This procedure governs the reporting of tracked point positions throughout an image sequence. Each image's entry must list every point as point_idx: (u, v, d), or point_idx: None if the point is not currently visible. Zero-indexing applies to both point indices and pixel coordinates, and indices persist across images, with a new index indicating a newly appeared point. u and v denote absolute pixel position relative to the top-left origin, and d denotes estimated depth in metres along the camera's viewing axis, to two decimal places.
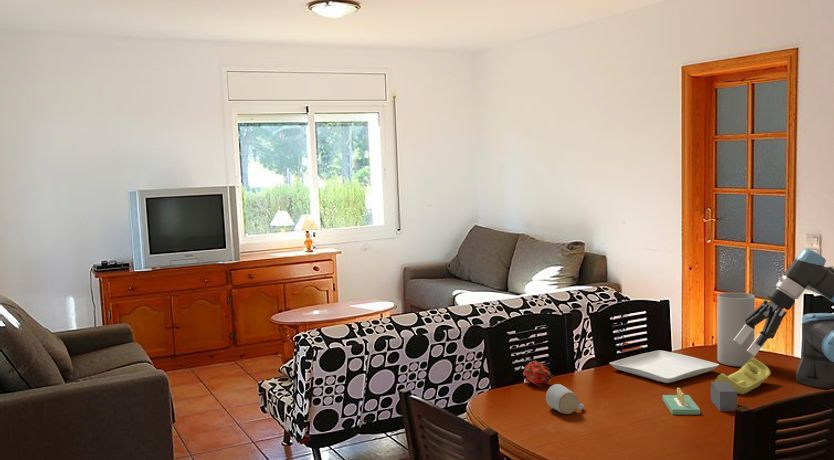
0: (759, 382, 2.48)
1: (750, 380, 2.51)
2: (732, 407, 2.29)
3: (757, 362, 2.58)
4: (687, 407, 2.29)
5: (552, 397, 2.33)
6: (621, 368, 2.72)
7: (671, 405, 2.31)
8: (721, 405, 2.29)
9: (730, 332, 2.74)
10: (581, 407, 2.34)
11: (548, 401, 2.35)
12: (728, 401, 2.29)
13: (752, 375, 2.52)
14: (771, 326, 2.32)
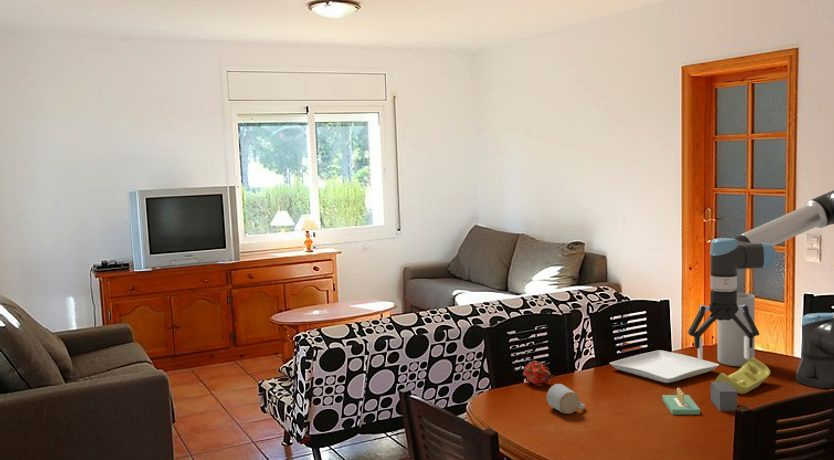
0: (759, 382, 2.48)
1: (750, 380, 2.52)
2: (732, 407, 2.29)
3: (757, 362, 2.58)
4: (687, 407, 2.29)
5: (553, 397, 2.33)
6: (621, 368, 2.72)
7: (671, 405, 2.31)
8: (721, 405, 2.29)
9: (730, 332, 2.74)
10: (582, 407, 2.34)
11: (549, 400, 2.35)
12: (728, 401, 2.29)
13: (752, 375, 2.52)
14: None
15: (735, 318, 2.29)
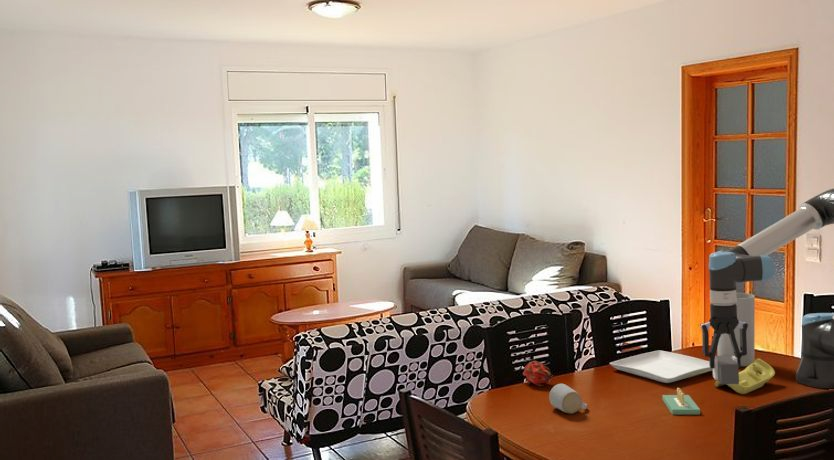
0: (762, 382, 2.48)
1: (753, 380, 2.51)
2: (734, 380, 2.28)
3: (762, 363, 2.57)
4: (687, 407, 2.29)
5: (555, 396, 2.33)
6: (621, 368, 2.72)
7: (671, 405, 2.31)
8: (723, 378, 2.28)
9: None
10: (584, 406, 2.34)
11: (551, 400, 2.35)
12: (729, 374, 2.28)
13: (756, 375, 2.51)
14: None
15: (732, 333, 2.30)
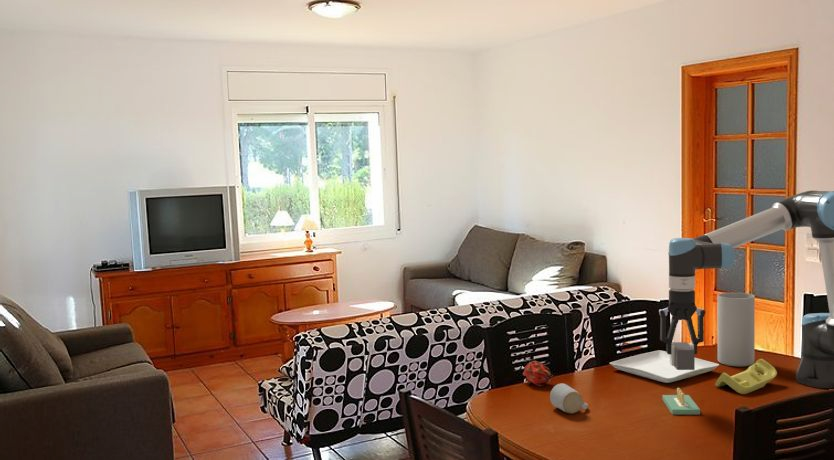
0: (763, 383, 2.47)
1: (755, 381, 2.51)
2: (689, 366, 2.28)
3: (765, 363, 2.56)
4: (687, 407, 2.29)
5: (556, 396, 2.33)
6: (621, 368, 2.72)
7: (671, 405, 2.31)
8: (678, 364, 2.28)
9: (730, 332, 2.74)
10: (585, 406, 2.34)
11: (552, 400, 2.35)
12: (685, 360, 2.28)
13: (757, 376, 2.51)
14: None
15: (689, 320, 2.30)
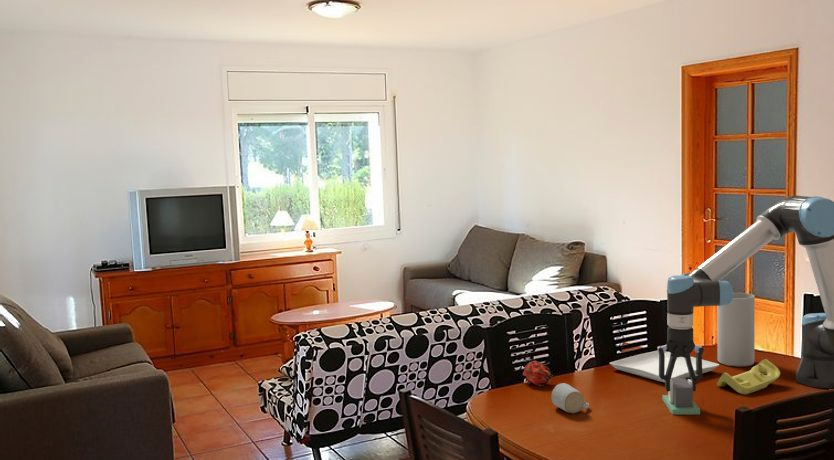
0: (765, 383, 2.47)
1: (757, 381, 2.50)
2: (688, 403, 2.29)
3: (769, 364, 2.55)
4: (687, 407, 2.29)
5: (558, 396, 2.33)
6: (621, 368, 2.72)
7: (671, 405, 2.31)
8: (677, 401, 2.29)
9: (730, 332, 2.74)
10: (587, 406, 2.34)
11: (554, 400, 2.36)
12: (684, 397, 2.29)
13: (760, 376, 2.50)
14: (701, 369, 2.32)
15: (688, 357, 2.31)
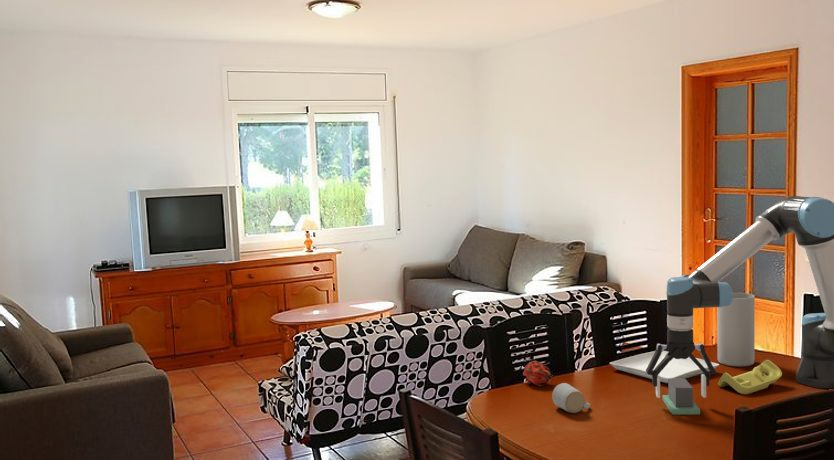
0: (766, 384, 2.46)
1: (758, 381, 2.50)
2: (688, 403, 2.29)
3: (771, 364, 2.55)
4: (687, 407, 2.29)
5: (559, 396, 2.34)
6: (621, 368, 2.72)
7: (671, 405, 2.31)
8: (677, 401, 2.29)
9: (730, 332, 2.74)
10: (587, 406, 2.34)
11: (554, 400, 2.36)
12: (684, 397, 2.29)
13: (761, 376, 2.50)
14: (711, 364, 2.31)
15: (692, 357, 2.31)
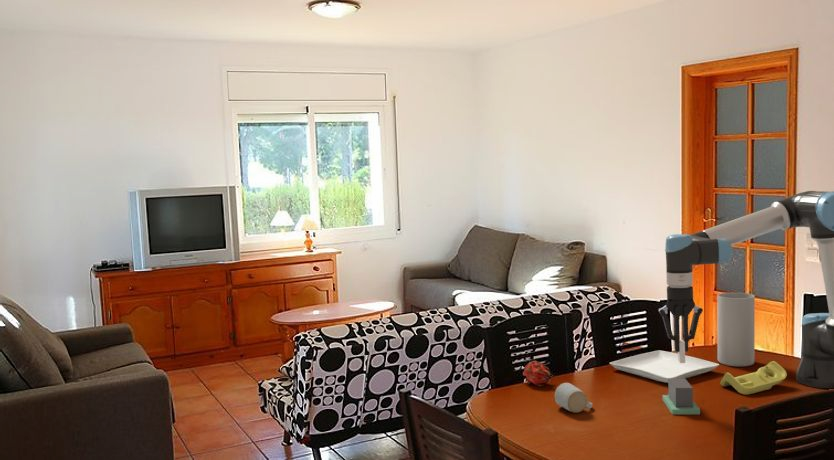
0: (768, 385, 2.45)
1: (762, 382, 2.49)
2: (688, 403, 2.29)
3: (776, 365, 2.53)
4: (687, 407, 2.29)
5: (561, 396, 2.34)
6: (621, 368, 2.72)
7: (671, 405, 2.31)
8: (677, 401, 2.29)
9: (730, 332, 2.74)
10: (590, 406, 2.34)
11: (557, 399, 2.36)
12: (684, 397, 2.29)
13: (765, 377, 2.49)
14: None
15: (686, 316, 2.30)
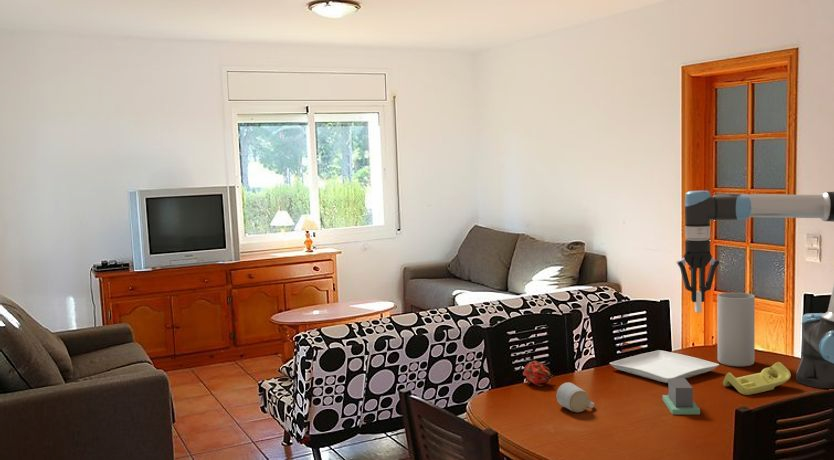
0: (770, 385, 2.44)
1: (764, 383, 2.48)
2: (688, 403, 2.29)
3: (781, 366, 2.51)
4: (687, 407, 2.29)
5: (563, 395, 2.34)
6: (621, 368, 2.72)
7: (671, 405, 2.31)
8: (677, 401, 2.29)
9: (730, 332, 2.74)
10: (592, 405, 2.35)
11: (559, 399, 2.36)
12: (684, 397, 2.29)
13: (768, 378, 2.48)
14: None
15: (703, 268, 2.43)
